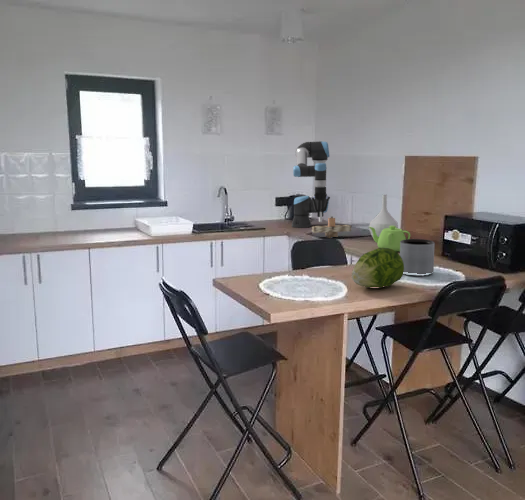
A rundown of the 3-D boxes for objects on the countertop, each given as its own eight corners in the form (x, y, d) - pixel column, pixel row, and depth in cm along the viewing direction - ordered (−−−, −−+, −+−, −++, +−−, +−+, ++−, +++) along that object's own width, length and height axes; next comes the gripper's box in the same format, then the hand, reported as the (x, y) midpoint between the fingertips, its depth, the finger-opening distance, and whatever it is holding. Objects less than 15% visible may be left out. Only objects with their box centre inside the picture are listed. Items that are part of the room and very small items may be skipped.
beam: (314, 238, 349) (314, 227, 347) (311, 237, 356) (311, 226, 355) (351, 237, 353) (351, 226, 352) (347, 235, 361) (347, 224, 359)
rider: (329, 228, 352) (329, 216, 350) (328, 228, 355) (328, 216, 353) (335, 228, 352) (335, 216, 351) (333, 227, 355) (333, 216, 354)
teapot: (414, 251, 303) (415, 226, 301) (385, 254, 296) (386, 229, 293) (394, 245, 320) (395, 222, 318) (367, 248, 313) (367, 225, 310)
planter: (431, 270, 257) (433, 239, 254) (434, 277, 241) (436, 245, 238) (398, 268, 260) (399, 238, 257) (399, 276, 245) (400, 244, 242)
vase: (400, 239, 342) (402, 193, 336) (393, 243, 326) (395, 196, 321) (373, 237, 351) (374, 193, 345) (365, 241, 335) (366, 195, 329)
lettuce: (341, 286, 231) (341, 251, 223) (382, 272, 240) (384, 238, 233) (367, 303, 217) (368, 266, 209) (409, 287, 226) (412, 251, 219)
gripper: (312, 187, 342) (312, 222, 347) (331, 186, 344) (331, 221, 349) (309, 186, 349) (309, 221, 354) (328, 185, 351) (327, 220, 356)
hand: (320, 221), depth 352 cm, fingers closed
